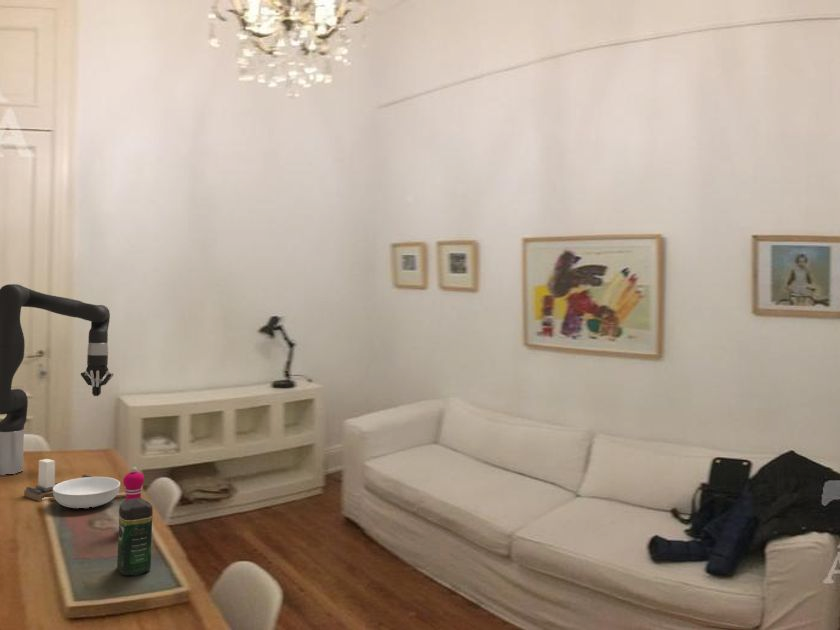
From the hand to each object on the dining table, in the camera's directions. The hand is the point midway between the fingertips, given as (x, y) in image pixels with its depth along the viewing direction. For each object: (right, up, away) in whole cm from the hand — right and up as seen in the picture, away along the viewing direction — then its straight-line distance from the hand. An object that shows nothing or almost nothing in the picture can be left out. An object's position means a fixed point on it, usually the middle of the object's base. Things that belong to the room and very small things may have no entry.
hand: (96, 395), depth 261 cm
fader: (-1, -29, -32) cm, 44 cm away
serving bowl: (+17, -33, -40) cm, 55 cm away
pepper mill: (+43, -35, -63) cm, 83 cm away
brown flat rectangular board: (+2, -32, -27) cm, 42 cm away
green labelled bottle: (+56, -36, -90) cm, 112 cm away
